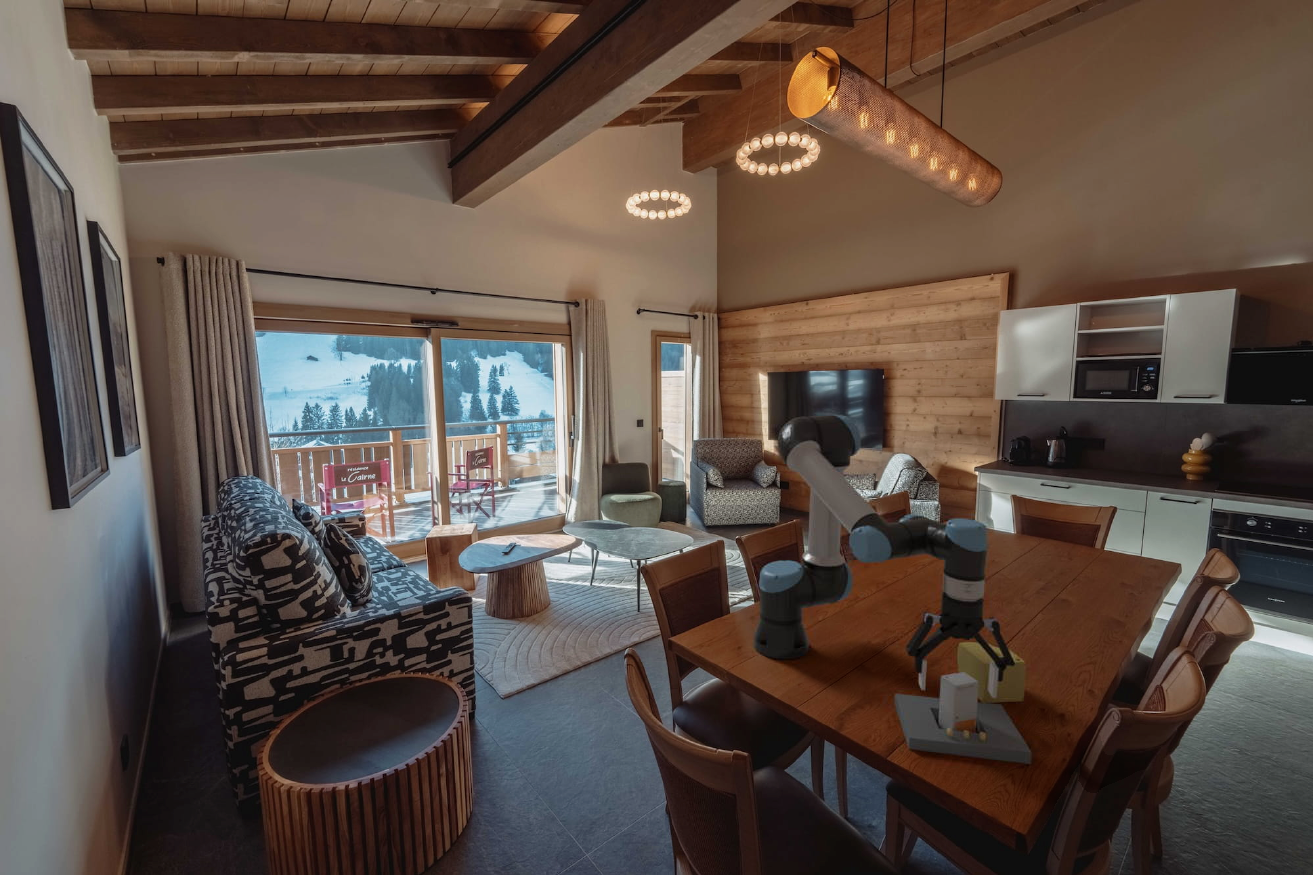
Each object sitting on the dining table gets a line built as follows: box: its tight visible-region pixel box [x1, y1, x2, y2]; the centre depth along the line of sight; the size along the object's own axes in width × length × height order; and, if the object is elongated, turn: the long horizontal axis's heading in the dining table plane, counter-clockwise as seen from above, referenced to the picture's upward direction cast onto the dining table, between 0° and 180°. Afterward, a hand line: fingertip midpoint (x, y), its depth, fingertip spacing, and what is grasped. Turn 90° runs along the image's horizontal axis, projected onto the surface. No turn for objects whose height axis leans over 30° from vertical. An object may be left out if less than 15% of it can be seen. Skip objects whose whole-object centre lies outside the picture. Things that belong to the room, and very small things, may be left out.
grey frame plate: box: [894, 693, 1032, 765], centre depth 119 cm, size 22×16×4 cm
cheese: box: [956, 641, 1027, 704], centre depth 133 cm, size 10×11×10 cm
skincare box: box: [937, 672, 979, 733], centre depth 118 cm, size 6×4×12 cm
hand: (956, 690), depth 118 cm, fingers open, 13 cm apart
